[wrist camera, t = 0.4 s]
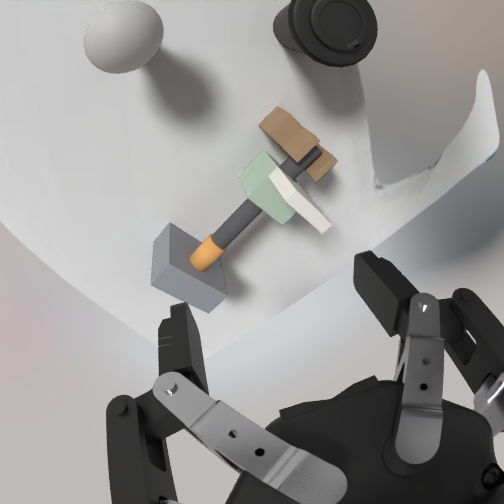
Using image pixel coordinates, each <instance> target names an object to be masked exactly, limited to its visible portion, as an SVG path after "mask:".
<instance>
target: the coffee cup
mask: <svg viewBox="0 0 504 504" xmlns="http://www.w3.org/2000/svg"><path fill="white" fill-rule="evenodd" d="M377 30H378V29H377V20H376V17H375V14H374V11H373V9H372V7H371V6H370V4H369V3H368V2H367V0H291V3H290V4H288V5H287V6H286V7H285V8H284V9H282V10H281V11H280V12H279V13H278V14H277V16H276V17H275V20H274V23H273V31H274V34H275V36H276V38H277V39H278V41H279V42H280V43H281V44H282V45H284V46H285V47H287V48H289V49H292V50H295V51H299V52H302V53H305V54H306V55H308V56H309V57H310V58H312V59H313V60H314V61H316V62H319V63H322V64H324V65H327V66H332V67H346V66H350V65H354V64H356V63H358V62H359V61H361V60H362V59H364V58H365V57H366V56H367V55H368V54H369V52H370V51H371V50H372V48H373V46H374V44H375V42H376V38H377Z"/></svg>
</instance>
